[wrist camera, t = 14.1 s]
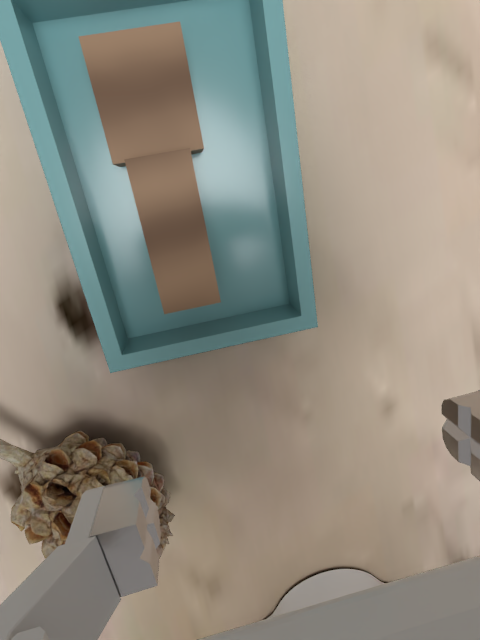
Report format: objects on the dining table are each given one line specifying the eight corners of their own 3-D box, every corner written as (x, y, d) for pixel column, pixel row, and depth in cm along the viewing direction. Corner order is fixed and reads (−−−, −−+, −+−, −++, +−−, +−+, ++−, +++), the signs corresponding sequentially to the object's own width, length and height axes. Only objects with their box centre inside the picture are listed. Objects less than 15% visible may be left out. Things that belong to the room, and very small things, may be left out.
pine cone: (198, 455, 37) (204, 544, 28) (144, 523, 39) (133, 628, 29) (-31, 342, 30) (-124, 409, 21) (-83, 430, 32) (-191, 529, 23)
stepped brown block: (226, 283, 31) (234, 299, 26) (154, 297, 31) (149, 317, 26) (179, 40, 25) (180, 6, 21) (89, 54, 25) (69, 22, 20)
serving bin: (302, 311, 34) (317, 326, 30) (118, 351, 32) (110, 372, 29) (260, -29, 25) (275, -67, 21) (9, 6, 24) (-23, -28, 20)
